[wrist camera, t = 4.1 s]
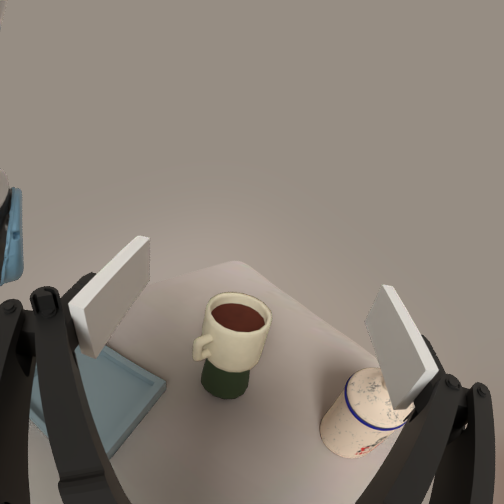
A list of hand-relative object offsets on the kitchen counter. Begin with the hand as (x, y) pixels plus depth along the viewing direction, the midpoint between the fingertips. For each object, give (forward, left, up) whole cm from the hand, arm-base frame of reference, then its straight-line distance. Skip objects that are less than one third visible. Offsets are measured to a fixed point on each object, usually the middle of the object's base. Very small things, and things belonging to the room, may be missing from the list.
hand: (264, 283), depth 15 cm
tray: (-18, -3, -23) cm, 30 cm away
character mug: (-4, +10, -24) cm, 26 cm away
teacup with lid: (+15, +10, -24) cm, 30 cm away
